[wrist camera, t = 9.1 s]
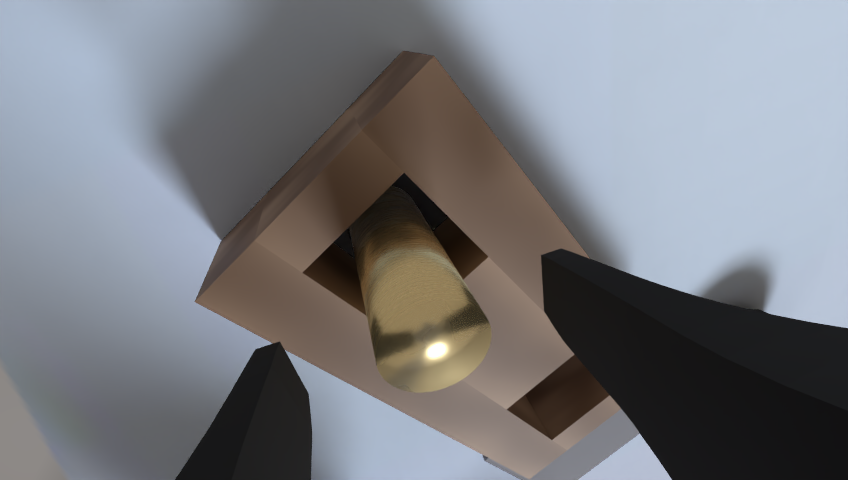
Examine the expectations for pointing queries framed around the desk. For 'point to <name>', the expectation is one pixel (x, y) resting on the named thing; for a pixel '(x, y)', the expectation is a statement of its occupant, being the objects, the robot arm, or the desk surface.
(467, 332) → the brass pin
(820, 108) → the desk surface
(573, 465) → the rubber mat
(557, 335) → the block
